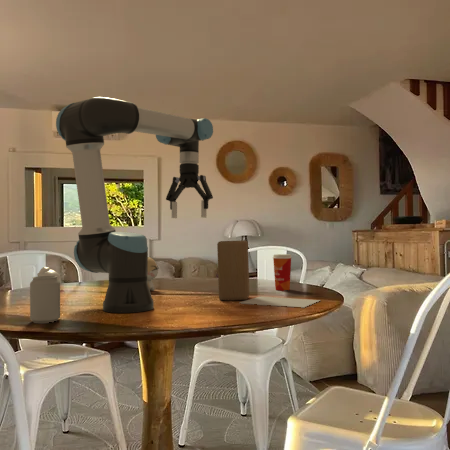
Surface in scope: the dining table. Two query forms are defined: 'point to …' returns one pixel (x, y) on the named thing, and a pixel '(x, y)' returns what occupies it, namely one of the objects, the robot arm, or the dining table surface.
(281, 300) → the felt mat
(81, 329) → the dining table surface
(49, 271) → the ghost figurine
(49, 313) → the can
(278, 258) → the paper cup
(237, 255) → the block
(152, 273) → the kitten
